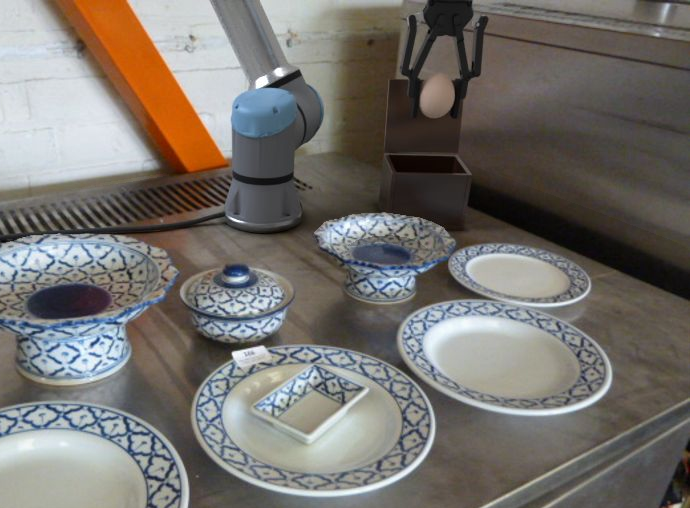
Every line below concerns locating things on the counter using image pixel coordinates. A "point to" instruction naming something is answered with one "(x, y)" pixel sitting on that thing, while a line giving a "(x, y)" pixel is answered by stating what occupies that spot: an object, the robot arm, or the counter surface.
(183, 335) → the counter surface
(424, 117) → the lid
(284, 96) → the robot arm
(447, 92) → the egg
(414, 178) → the chest
